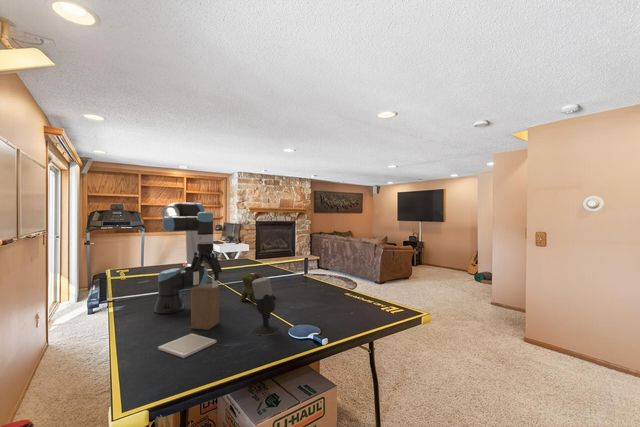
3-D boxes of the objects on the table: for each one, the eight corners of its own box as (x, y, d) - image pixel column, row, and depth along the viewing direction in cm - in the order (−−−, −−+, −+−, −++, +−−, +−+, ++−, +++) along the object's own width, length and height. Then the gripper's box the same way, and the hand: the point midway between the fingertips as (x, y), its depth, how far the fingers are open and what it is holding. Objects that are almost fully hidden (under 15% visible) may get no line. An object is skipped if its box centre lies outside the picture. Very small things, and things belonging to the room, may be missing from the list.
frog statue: (267, 303, 202) (255, 303, 178) (245, 301, 204) (230, 300, 181) (270, 275, 208) (259, 271, 184) (249, 273, 210) (235, 269, 186)
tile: (158, 349, 121) (158, 346, 121) (191, 335, 135) (191, 332, 135) (183, 358, 114) (183, 355, 114) (216, 342, 128) (216, 339, 128)
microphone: (251, 326, 146) (251, 276, 146) (277, 324, 149) (277, 274, 150) (252, 337, 133) (252, 281, 134) (281, 333, 137) (281, 279, 137)
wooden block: (208, 330, 141) (208, 288, 141) (190, 329, 143) (190, 287, 143) (219, 323, 151) (219, 284, 151) (202, 322, 153) (202, 283, 153)
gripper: (182, 242, 150) (182, 284, 150) (217, 244, 138) (217, 290, 138) (195, 241, 157) (195, 282, 156) (229, 243, 145) (229, 286, 144)
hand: (205, 285), depth 147 cm, fingers open, 13 cm apart
